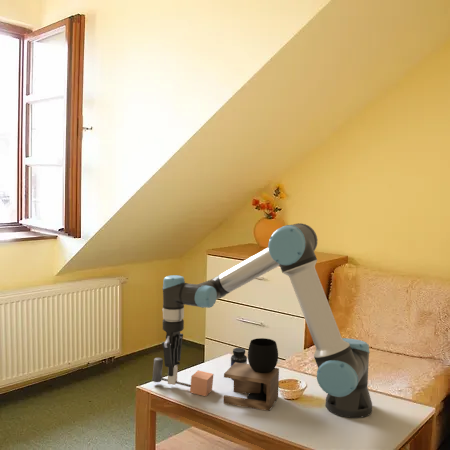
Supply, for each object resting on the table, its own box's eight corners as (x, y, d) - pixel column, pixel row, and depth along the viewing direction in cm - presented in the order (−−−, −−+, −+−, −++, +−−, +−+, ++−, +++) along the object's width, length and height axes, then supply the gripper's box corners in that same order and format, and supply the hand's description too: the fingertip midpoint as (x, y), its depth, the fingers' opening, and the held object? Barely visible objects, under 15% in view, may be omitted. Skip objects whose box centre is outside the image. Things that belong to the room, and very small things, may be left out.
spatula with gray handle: (212, 390, 187) (214, 368, 186) (205, 396, 182) (207, 374, 181) (156, 376, 194) (158, 355, 193) (149, 382, 189) (150, 361, 188)
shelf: (278, 396, 182) (279, 368, 182) (269, 410, 171) (270, 380, 170) (234, 390, 188) (235, 362, 187) (223, 403, 176) (224, 373, 175)
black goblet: (261, 407, 174) (262, 348, 172) (240, 397, 182) (241, 340, 180) (283, 399, 180) (284, 343, 179) (262, 390, 188) (263, 335, 187)
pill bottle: (228, 375, 201) (228, 347, 200) (243, 374, 203) (244, 346, 202) (233, 381, 195) (234, 352, 194) (248, 380, 197) (249, 351, 196)
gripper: (171, 313, 195) (171, 375, 197) (154, 322, 182) (154, 388, 184) (190, 315, 192) (189, 377, 194) (174, 325, 179) (173, 391, 181)
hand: (172, 383), depth 189 cm, fingers closed on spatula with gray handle
